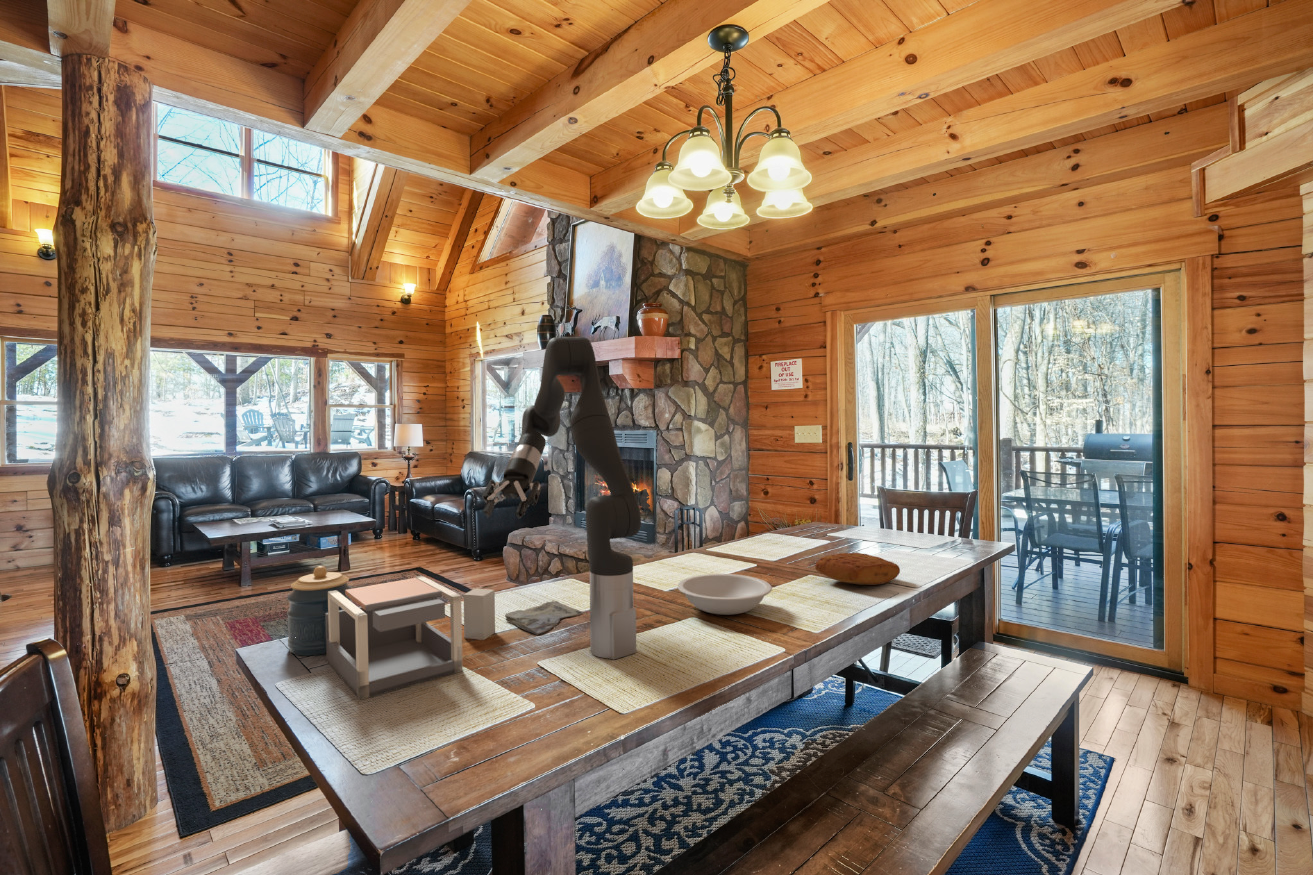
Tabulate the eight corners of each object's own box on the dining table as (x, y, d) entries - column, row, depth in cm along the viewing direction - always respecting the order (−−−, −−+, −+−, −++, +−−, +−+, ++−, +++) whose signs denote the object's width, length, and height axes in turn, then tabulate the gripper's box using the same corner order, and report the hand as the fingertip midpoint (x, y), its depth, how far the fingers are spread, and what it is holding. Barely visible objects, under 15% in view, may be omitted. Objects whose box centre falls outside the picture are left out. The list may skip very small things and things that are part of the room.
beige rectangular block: (495, 632, 145) (494, 589, 145) (484, 639, 141) (483, 595, 140) (475, 630, 147) (475, 588, 146) (464, 638, 142) (463, 594, 141)
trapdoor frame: (462, 670, 123) (461, 595, 123) (359, 699, 111) (357, 616, 110) (419, 639, 141) (417, 573, 141) (326, 661, 129) (324, 589, 128)
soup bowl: (791, 614, 157) (791, 588, 157) (718, 633, 144) (718, 605, 144) (729, 592, 177) (729, 569, 177) (659, 607, 164) (659, 582, 163)
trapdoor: (345, 609, 126) (345, 589, 126) (415, 596, 135) (415, 577, 135) (373, 633, 112) (373, 610, 112) (450, 616, 121) (449, 595, 121)
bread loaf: (855, 595, 173) (855, 566, 173) (809, 582, 187) (809, 555, 187) (905, 583, 185) (905, 556, 185) (858, 571, 199) (858, 546, 199)
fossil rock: (551, 607, 166) (551, 598, 166) (592, 618, 157) (592, 609, 157) (496, 624, 152) (496, 614, 152) (538, 638, 143) (538, 627, 143)
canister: (343, 631, 147) (341, 556, 146) (363, 645, 138) (361, 566, 137) (280, 645, 138) (278, 566, 137) (297, 662, 128) (295, 576, 128)
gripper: (493, 456, 164) (470, 505, 153) (543, 456, 160) (523, 507, 150) (503, 474, 169) (482, 523, 158) (552, 475, 166) (533, 525, 155)
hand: (502, 515), depth 154 cm, fingers open, 8 cm apart
